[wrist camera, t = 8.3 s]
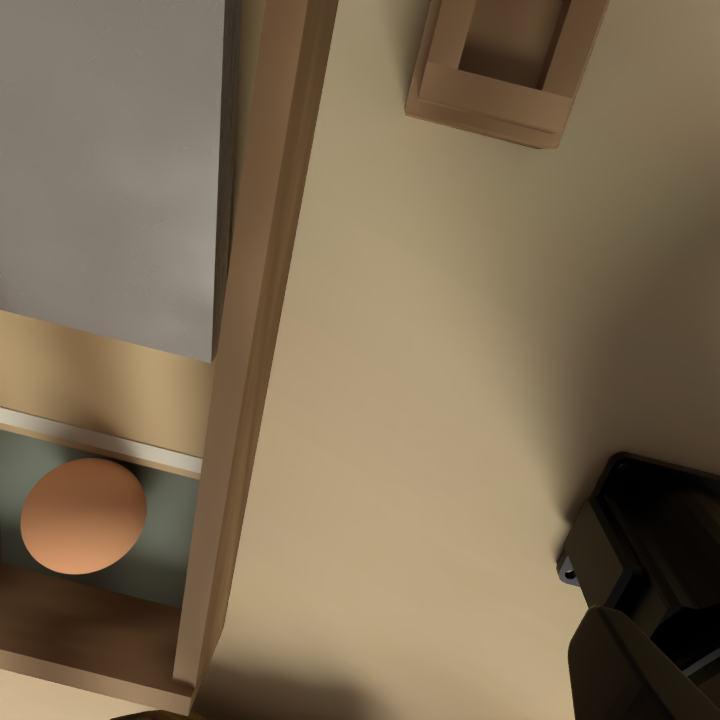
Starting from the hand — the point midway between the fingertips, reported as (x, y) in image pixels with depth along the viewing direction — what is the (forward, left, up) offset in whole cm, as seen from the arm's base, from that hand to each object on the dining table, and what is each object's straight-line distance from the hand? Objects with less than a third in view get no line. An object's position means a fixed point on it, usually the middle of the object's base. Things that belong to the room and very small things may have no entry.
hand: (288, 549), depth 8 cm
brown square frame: (-2, -9, -12) cm, 16 cm away
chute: (+9, -4, -11) cm, 15 cm away
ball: (+9, +10, -10) cm, 17 cm away
